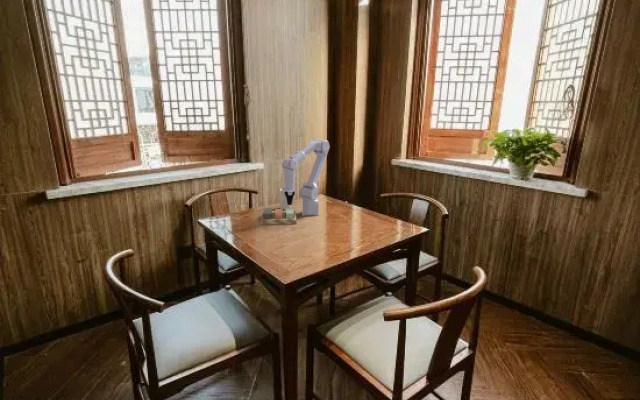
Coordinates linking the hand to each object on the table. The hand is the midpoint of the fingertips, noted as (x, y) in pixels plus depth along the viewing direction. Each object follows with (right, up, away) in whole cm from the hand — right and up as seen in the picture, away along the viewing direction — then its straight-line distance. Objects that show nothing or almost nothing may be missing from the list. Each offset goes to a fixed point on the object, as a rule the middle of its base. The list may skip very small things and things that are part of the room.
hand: (289, 204), depth 193 cm
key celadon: (0, -7, +2) cm, 7 cm away
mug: (-3, -3, +21) cm, 22 cm away
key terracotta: (-6, -8, +2) cm, 10 cm away
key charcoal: (-12, -7, +1) cm, 14 cm away
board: (-6, -8, +2) cm, 11 cm away
